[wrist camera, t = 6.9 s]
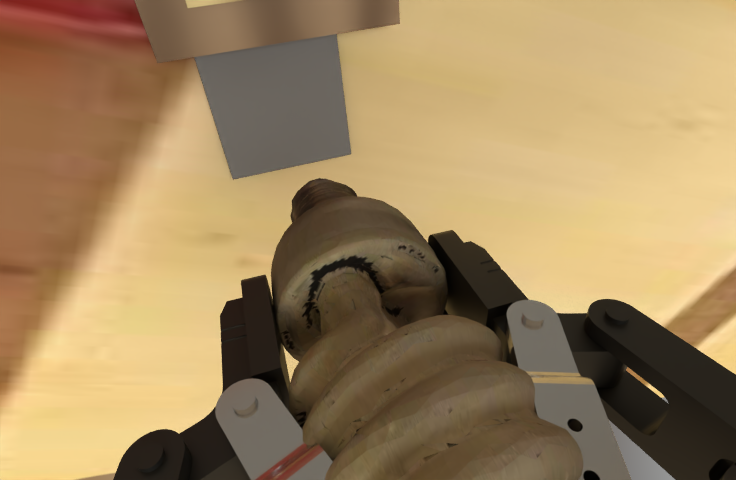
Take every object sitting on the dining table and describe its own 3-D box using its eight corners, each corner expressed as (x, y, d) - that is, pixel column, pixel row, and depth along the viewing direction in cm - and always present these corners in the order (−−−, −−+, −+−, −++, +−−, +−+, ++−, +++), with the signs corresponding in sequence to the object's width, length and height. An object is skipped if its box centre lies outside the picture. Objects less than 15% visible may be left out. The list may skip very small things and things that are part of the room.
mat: (333, 24, 31) (335, 26, 31) (349, 151, 37) (351, 154, 37) (192, 47, 30) (191, 49, 29) (232, 176, 36) (232, 179, 35)
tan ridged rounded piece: (216, 206, 17) (244, 818, 5) (307, 98, 16) (612, 595, 4) (322, 267, 20) (482, 728, 9) (404, 182, 19) (725, 588, 7)
